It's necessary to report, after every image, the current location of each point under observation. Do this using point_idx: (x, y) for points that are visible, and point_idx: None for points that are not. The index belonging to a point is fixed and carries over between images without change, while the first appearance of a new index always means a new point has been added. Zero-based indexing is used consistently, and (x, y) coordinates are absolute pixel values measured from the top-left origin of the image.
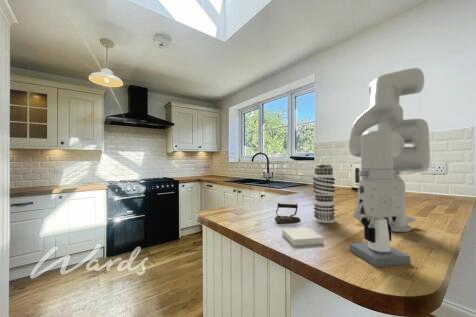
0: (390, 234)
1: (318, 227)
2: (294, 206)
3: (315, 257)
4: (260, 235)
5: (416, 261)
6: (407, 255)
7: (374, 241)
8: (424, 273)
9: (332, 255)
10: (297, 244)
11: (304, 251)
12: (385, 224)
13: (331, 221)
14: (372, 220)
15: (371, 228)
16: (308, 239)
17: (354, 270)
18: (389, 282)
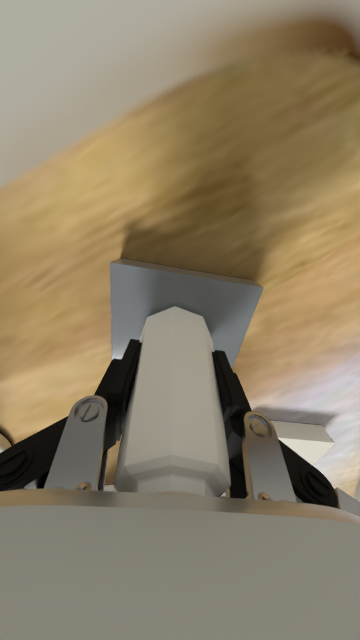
0: (126, 358)
1: None
2: None
3: (340, 372)
4: (330, 472)
5: (82, 261)
6: (118, 268)
7: (218, 352)
8: (141, 183)
9: (290, 368)
10: (314, 427)
11: (329, 401)
12: (172, 412)
13: (111, 488)
14: (264, 472)
15: (240, 411)
16: (292, 436)
17: (332, 288)
18: (325, 186)
